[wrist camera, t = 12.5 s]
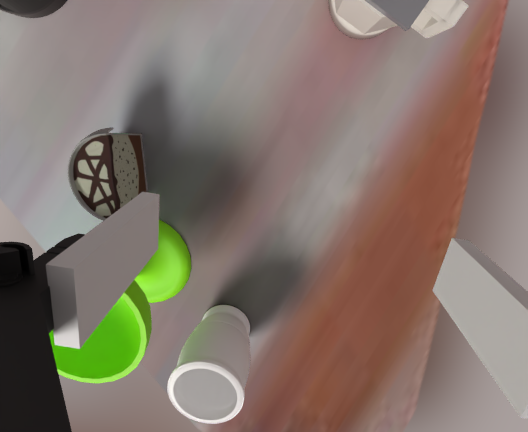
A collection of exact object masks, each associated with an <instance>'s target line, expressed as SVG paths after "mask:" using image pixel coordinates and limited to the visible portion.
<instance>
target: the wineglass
mask: <svg viewBox="0 0 528 432" xmlns="http://www.w3.org/2000/svg"><path fill="white" fill-rule="evenodd" d="M190 271H191V258H190V254H189V251H188V248H187V245H186V244H185V242H184V241H183V239H182V238H181V236H180V235H179V234H178V233H177V232H176V231H175V230H174V229H173V228H172V227H171V226H170V225H168V224H166V223H165V222H163V221H161V220H159V234H158V250H157V251H156V252H155V254H154V255H153V256H152V257H151V259H150V260H149V261H148V263H147V264H146V265H145V266H144V268H143V269H142V270H141V271H140V273H139V274H138V275H137V277H136V278H135V279H134V280H133V282H132V283H131V284H130V286H129V287H128V288H127V289H126V291H125V292H124V293H123V294H122V296H121V297H120V298H119V300H118V301H117V302H116V303H115V305H114V306H113V307H112V309H111V310H110V311H109V312H108V314H107V315H106V316H105V318H104V319H103V320H102V321H101V323H100V324H99V325H98V326H97V328H96V329H95V330H94V332H93V333H92V334H91V335H90V337H89V338H88V339H87V341H86V342H85V343H84V344H83V346H82V347H81V348H80V349H77V348H71V347H65V346H58V345H55V343H54V334H53V330H52V331H51V332H50V333H49V336H50V340H51V345H52V349H53V353H54V358H55V362H56V366H57V371H58V374H60V375H62V376H64V377H66V378H69V379H73V380H76V381H80V382H88V383H104V382H111V381H115V380H117V379H120V378H122V377H124V376H126V375H128V374H129V373H130V372H131V371H132V370H133V369H135V368H136V367H137V366H138V364H139V362H140V361H141V359H142V357H143V356H144V354H145V351H146V348H147V346H148V343H149V339H150V334H151V311H150V305H149V303H154V302H160V301H165V300H167V299H169V298H171V297H173V296H175V295H176V294H177V293H178V292H179V291H181V290H182V289H183V288H184V286H185V284H186V283H187V281H188V279H189V275H190Z"/></svg>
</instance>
